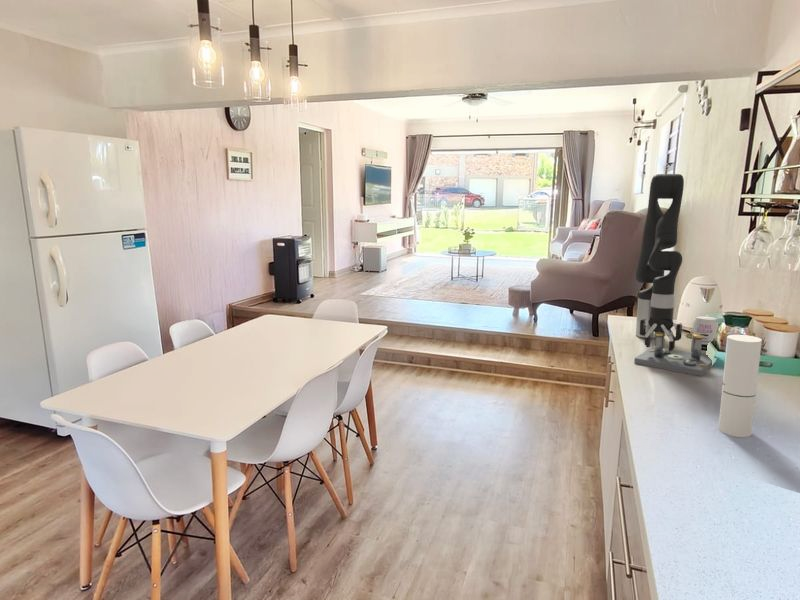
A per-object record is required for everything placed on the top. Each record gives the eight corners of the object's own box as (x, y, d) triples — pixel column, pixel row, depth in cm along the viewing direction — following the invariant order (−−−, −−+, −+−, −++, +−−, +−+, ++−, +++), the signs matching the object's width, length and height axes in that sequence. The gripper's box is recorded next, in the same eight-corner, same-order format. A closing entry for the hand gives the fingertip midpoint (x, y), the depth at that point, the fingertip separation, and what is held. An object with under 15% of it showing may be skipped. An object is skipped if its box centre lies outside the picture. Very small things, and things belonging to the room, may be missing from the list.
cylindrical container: (746, 426, 130) (756, 335, 126) (755, 438, 124) (766, 342, 119) (715, 423, 133) (723, 333, 128) (722, 435, 126) (732, 341, 121)
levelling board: (653, 351, 197) (653, 345, 197) (716, 362, 182) (717, 355, 182) (634, 363, 184) (634, 356, 183) (700, 376, 168) (701, 369, 168)
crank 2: (694, 366, 172) (696, 341, 170) (681, 364, 175) (683, 339, 173) (703, 359, 179) (705, 335, 178) (690, 357, 182) (692, 333, 181)
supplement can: (708, 352, 194) (711, 315, 191) (719, 358, 186) (723, 320, 183) (686, 352, 195) (689, 315, 192) (697, 358, 187) (700, 320, 184)
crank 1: (660, 350, 192) (662, 327, 190) (672, 352, 189) (673, 329, 187) (651, 356, 184) (652, 333, 182) (662, 358, 181) (664, 334, 180)
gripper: (687, 306, 178) (683, 350, 181) (645, 301, 188) (642, 343, 191) (680, 309, 173) (676, 354, 176) (637, 304, 183) (635, 347, 186)
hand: (659, 348), depth 183 cm, fingers open, 7 cm apart
